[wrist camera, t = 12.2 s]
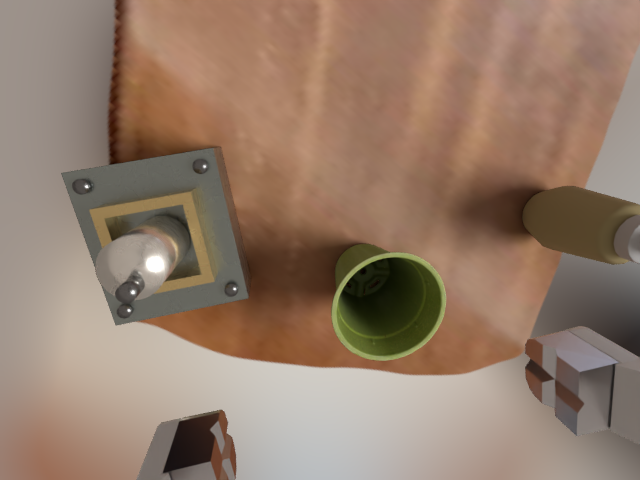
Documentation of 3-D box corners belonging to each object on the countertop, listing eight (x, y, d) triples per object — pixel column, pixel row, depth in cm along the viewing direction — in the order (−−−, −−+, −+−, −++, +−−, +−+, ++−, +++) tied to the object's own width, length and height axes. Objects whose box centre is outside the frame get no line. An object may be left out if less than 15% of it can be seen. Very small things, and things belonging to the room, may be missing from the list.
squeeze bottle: (539, 170, 46) (698, 187, 29) (581, 202, 48) (752, 236, 31) (501, 223, 48) (632, 269, 30) (543, 252, 50) (688, 311, 33)
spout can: (130, 221, 35) (71, 253, 25) (182, 211, 36) (145, 238, 25) (146, 268, 37) (95, 318, 26) (195, 258, 37) (165, 303, 27)
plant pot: (303, 298, 47) (313, 345, 36) (337, 212, 44) (359, 235, 34) (384, 322, 49) (417, 373, 38) (420, 243, 47) (466, 273, 36)
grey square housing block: (91, 168, 39) (45, 175, 31) (220, 146, 40) (208, 148, 32) (135, 301, 44) (105, 337, 36) (251, 278, 45) (247, 308, 37)
